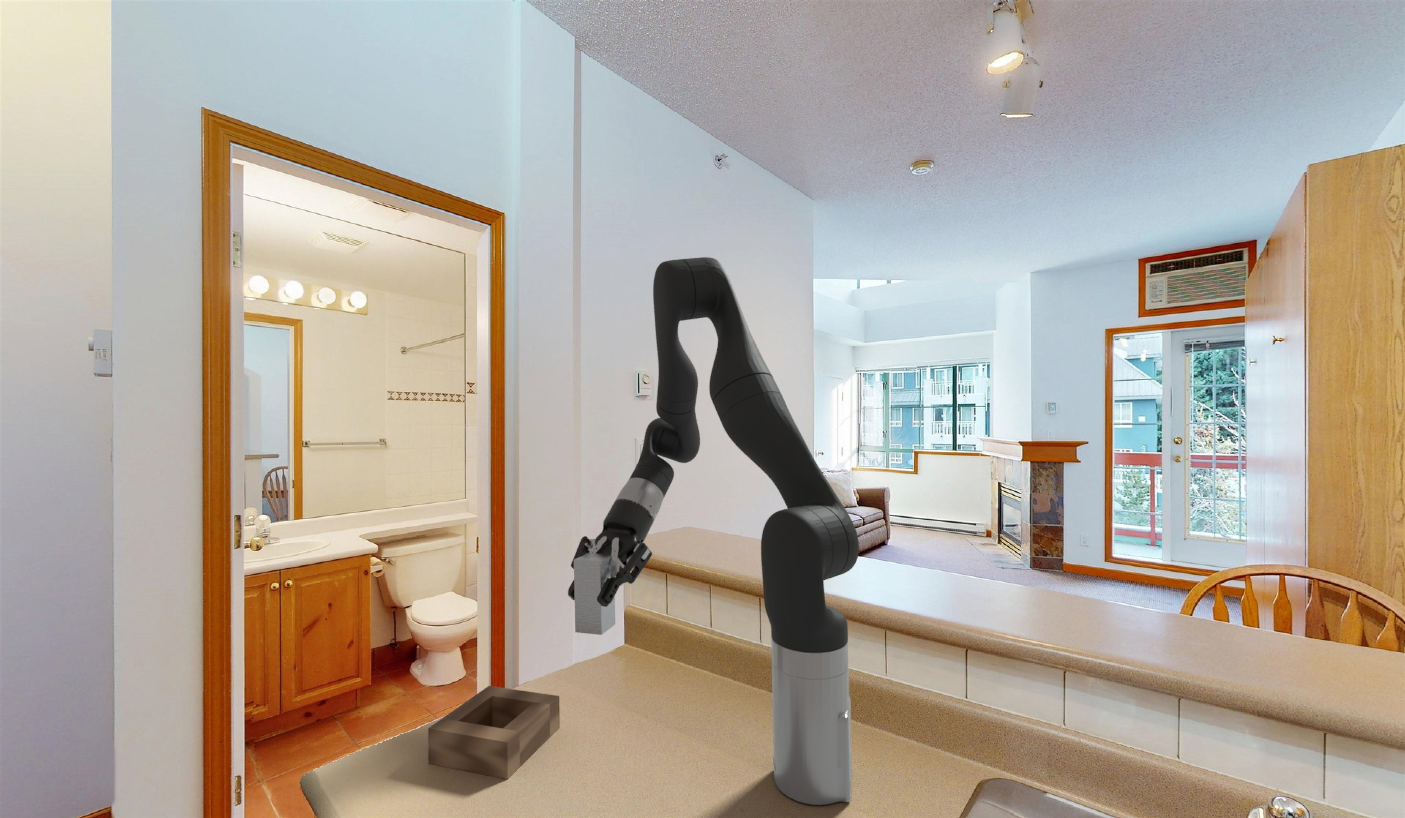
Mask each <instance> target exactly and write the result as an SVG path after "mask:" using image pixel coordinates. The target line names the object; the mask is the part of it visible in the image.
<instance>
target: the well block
mask: <svg viewBox="0 0 1405 818" xmlns="http://www.w3.org/2000/svg"><path fill="white" fill-rule="evenodd" d="M560 709H561V708H560V695H555V694H549V693H548V694H547V693H542V692H534V691H528V690H519V689H513V688H506V687H501V686H500V687H499V686H493V685H492V686H491V685H488V686H486V687H485V688H483V690H481V691H479V692H478V693H477V694H475V695H474V696H472V697H471V698H470V699H468V700H466V701H465V702H464V703H462V704H461V705H459V706H457V707H456V708H455V709H454V710H452V711H451V712H449V713H448V714H446V715H445V716H444V717H442V718H441V719H439V720H438V721H437V722H435V723H434V724H432V725H430V726H429V727H428V729H427V735H428V736H427V742H428V743H427V744H428V745H427V748H428V749H427V751H428V754H427V755H428V756H427V757H428V759H427V760H428V764H430V765H435V766H439V767H444V768H450V769H453V770H454V769H455V770H459V771H465V772H469V773H475V774H480V775H484V776H490V777H495V778H500V779H505V780H508V779H510V777H512V775H514V774H515V773H516V772H517V771H518V769H520V768H521V766H523V764H525V763H526V761H528V760H529V759H530V758H531V757H532V756H534V754H535V753H536V752H537V751H538V750H539V749H540V748H541V747H542V746H543V745H544V744H545V743H546V742H547V741H548V740H549V739H550V738H551V737H552V736H553V735H554V734H555V733H556V732H557V731H558V730H559V729H560V727H561V725H560V721H561V720H560V719H561V718H560Z"/></svg>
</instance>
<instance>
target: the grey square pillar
mask: <svg viewBox="0 0 1405 818" xmlns="http://www.w3.org/2000/svg"><path fill="white" fill-rule="evenodd" d="M611 556H612V555H611V554H599V553H587V554H585V555H583V556H581V557H579V558H576V559H574V569H573V580H574V596H575V600H574V626H575V627H574V628H575V629H574V630H575V631H574V632H575V633H580V634H588V635H590V634H591V635H599V636H602V635H603V634H605V633H606V632H607V631H609V630H610V629H611V628H613V627H614V626H615V625H616V601H615V600H616V598H615V597H616V595H615V596H614V598H613V600H612V602H611V603H610V604H609V605H608V606H607V607H604V606H602V605H600V604H599V602H598V601H597V597H598V595H599V593H600V591H601V589H602V587H603V585H604V584H605V582H606V580H607V578H611V577H610V572H611V563H610V559H611Z"/></svg>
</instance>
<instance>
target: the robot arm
mask: <svg viewBox="0 0 1405 818" xmlns="http://www.w3.org/2000/svg"><path fill="white" fill-rule="evenodd" d="M652 289H653V290H652V297H653V298H652V300H653V312H654V316H653V317H654V326H655V327H654V328H655V329H654V331H655V339H656V342H655V343H656V350H657V362H658V363H657V364H658V375H657V376H658V381H657V393H656V403H655V404H656V413H657V416H658V417H657V418H655V419H653V420H652V421H650V423H648V425H647V427H646V429H645V432H644V433H645V434H644V439H643V445H642V449H641V452H640V454H639V455H640V456H639V459H638V462H637V464H636V465H635V467H634V470H633V472H632V473H631V475H630V477H629V478H628V480H627V482H626V483H625V484H624V485H623V487H621V490H620V491H619V493H618V494H617V497H616V499H615V500H614V502H613V504H612V506H611V507H610V509H609V511H608V513H607V514H606V516H605V518H604V520H603V523H602V531H601V532H600V533H599V534H598V535H597V536H596V537H595V538H590V539H589V537H588V536H586V535H585V536H582V537H581V539H580V541H579V544H578V546H577V548H576V551H575V553H574V556H573V558H572V561H571V563H570V567H571V569H573V570H574V559H576V558H579V557H581V556H583V555H585V554H587V553H599V554H611V555H612V556H611V559H610V563H611V572H610V577H611V578H607V580H606V582H605V584H604V585H603V587H602V589H601V591H600V593H599V595H598V597H597V601H598V602H599V604H600V605H602V606H604V607H607V606H608V605H609V604H610V603H611V602H612V600H613V598H614V596H615V597H616V594H617V592H618V590H619V588H620V587H621V586H622V585H623V586H624V584H626V583H628V584H629V585H630V584H631V585H632V584H633V583H634V582H635V581H636V579H637V578H638V577H639V575H640V573H641V572H642V570H643V569H644V568H645V567H646V565H647V563H648V562H649V560H650V559H651V557H652V555H653V552H652V551H651V549H650V548H649V547H648V545H646V543H645V540H646V537H647V536H648V534H649V532H650V530H651V528H652V526H653V524H654V522H655V520H656V518H657V517H658V514H659V512H660V509H661V506H662V504H663V502H664V498H665V497H666V495H667V492H668V490H669V489H670V487H671V484H672V482H673V480H674V477H675V470H674V468H673V466H672V465H671V464H670V463H669V462H668V461H666V460H665V459H664V458H666V459H668V460H672V461H675V462H677V463H680V464H687V463H689V462H692V461H693V460H694V459H695V458H696V456H697V455H698V453H699V451H700V448H701V434H700V429H699V425H698V420H697V414H696V404H697V398H698V397H697V396H698V387H699V378H698V373H697V370H696V367H695V365H694V364H693V362H692V360H691V359H690V357H689V355H688V354H687V353H686V350H685V349H684V348H683V346H682V344H681V341H680V337H679V325H680V322H681V321H682V322H683V321H688V320H690V321H691V320H697V319H698V320H699V319H703V318H707V319H709V320H710V322H711V324H713V328H714V330H715V333H716V335H717V347H716V352H715V355H714V359H713V364H712V368H711V371H710V377H709V385H708V386H709V387H708V388H709V391H708V392H709V396H710V399H711V402H712V404H713V407H714V409H715V411H716V414H717V416H718V418H719V421H720V423H721V425H722V427H723V430H724V432H725V433H726V434H727V436H728V438H729V439H730V440H731V442H733V444H734V445H735V447H737V448H738V449H739V450H740V451H741V452H742V453H743V454H744V455H745V456H746V457H747V458H748V459H749V460H751V461H752V462H753V464H754V465H756V466H757V467H758V468H760V470H761V471H762V472H763V473H765V475H767V477H768V478H769V480H771V482H772V483H773V484H774V486H775V487H776V489H777V491H778V492H779V494H780V496H781V498H782V500H783V502H784V503H785V506H786V508H784V509H780V510H778V511H775V512H773V513H772V514H771V515H769V517H768V518H767V520H766V522H765V523H764V526H763V528H762V529H763V530H762V532H761V541H760V559H761V560H760V562H761V574H762V577H761V578H762V587H763V589H762V591H763V602H764V609H765V613H766V615H767V618H768V621H769V624H770V634H771V635H770V637H771V638H770V639H771V641H770V644H771V687H772V688H771V693H772V694H771V695H772V699H771V700H772V743H773V747H772V748H773V750H772V751H773V757H772V762H773V765H772V766H773V779H774V783H775V784H776V786H777V788H778V789H779V791H780V792H781V793H783V794H784V795H785V796H787V798H790V799H792V800H794V801H796V802H799V803H803V804H808V805H814V806H816V805H817V806H823V805H825V806H826V805H830V804H834V803H838V802H843V803H844V802H845V803H850V802H851V797H852V796H851V793H852V792H851V791H852V779H853V758H852V757H853V755H852V751H853V750H852V715H851V713H852V711H851V710H852V708H851V705H852V704H851V695H850V676H849V675H850V673H849V667H850V666H849V630H848V628H849V627H848V626H849V625H848V621H847V617H846V616H845V615H844V613H842V612H841V611H840V610H839V609H837V608H834V607H831V606H829V605H827V604H826V595H825V584H824V581H826V580H830V579H832V578H835V577H839V576H841V575H843V574H845V573H848V572H849V571H851V570H852V569H853V568H854V566H855V565H856V563H857V560H858V558H859V552H860V542H859V537H858V532H857V530H856V526H855V524H854V522H853V520H852V518H851V516H850V515H849V513H848V511H847V510H846V508H845V506H844V504H843V503H842V501H841V499H839V496H838V494H836V492H835V490H834V489H833V487H832V486H831V484H830V482H829V480H828V479H827V478H826V477H825V475H824V473H823V472H822V470H821V468H820V467H819V465H818V463H817V461H816V460H815V458H814V456H813V454H812V453H811V451H810V448H809V446H808V445H807V443H806V441H805V438H804V437H803V435H802V433H801V432H800V430H799V427H798V426H797V423H796V422H795V421H794V418H793V416H792V414H791V412H790V410H789V408H788V406H787V404H786V401H785V399H784V397H783V395H782V392H781V390H780V389H779V386H778V384H777V382H776V380H775V378H774V377H773V374H772V373H771V371H770V369H769V367H768V366H767V364H766V362H765V360H764V358H763V356H762V353H761V352H760V350H759V348H758V346H757V344H756V342H755V339H754V337H753V335H752V333H751V331H750V329H749V325H748V323H747V321H746V319H745V316H744V313H743V312H742V309H741V306H740V303H739V301H738V298H737V295H736V292H735V290H734V287H733V284H732V282H731V279H730V277H729V274H728V273H727V271H726V269H725V267H724V266H723V264H722V263H721V262H720V261H719V260H718V259H716V258H713V257H707V256H705V257H703V256H702V257H690V258H679V259H669V260H665V261H662V262H660V264H659V265H658V266H657V267H656V270H655V272H654V277H653V286H652ZM567 595H568V598H571V600H573V601H575V596H574V579H573V580H572V582H571V584H570V586H569V587H568V590H567Z"/></svg>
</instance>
